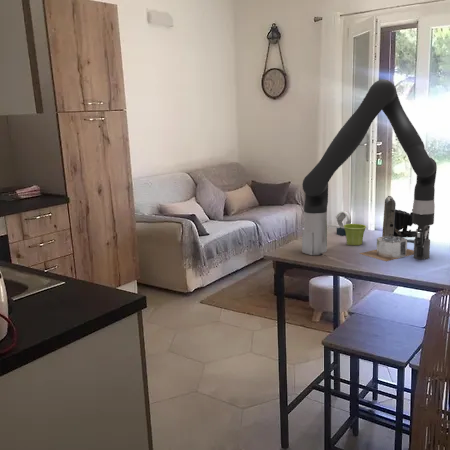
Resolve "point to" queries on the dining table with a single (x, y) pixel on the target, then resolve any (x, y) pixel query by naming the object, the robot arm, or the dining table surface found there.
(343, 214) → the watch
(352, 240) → the plant pot
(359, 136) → the robot arm
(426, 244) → the gray cylinder
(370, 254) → the mount board
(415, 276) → the dining table surface
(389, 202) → the vintage camera
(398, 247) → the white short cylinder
